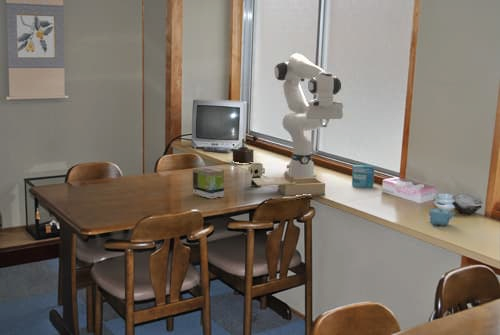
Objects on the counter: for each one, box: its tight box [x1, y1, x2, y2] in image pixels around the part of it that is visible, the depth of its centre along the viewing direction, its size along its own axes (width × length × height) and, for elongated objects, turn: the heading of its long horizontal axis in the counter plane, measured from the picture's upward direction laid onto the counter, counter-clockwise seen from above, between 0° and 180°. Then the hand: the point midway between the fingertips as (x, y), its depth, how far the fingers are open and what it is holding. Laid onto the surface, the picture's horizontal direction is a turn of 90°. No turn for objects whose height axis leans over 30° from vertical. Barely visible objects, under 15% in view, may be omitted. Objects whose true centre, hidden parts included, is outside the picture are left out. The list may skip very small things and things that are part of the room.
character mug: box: [247, 162, 266, 187], centre depth 367 cm, size 11×7×13 cm, turn 58°
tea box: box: [192, 166, 225, 199], centre depth 344 cm, size 15×10×15 cm, turn 41°
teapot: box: [428, 208, 456, 228], centre depth 295 cm, size 12×6×8 cm, turn 60°
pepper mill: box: [232, 135, 259, 163], centre depth 434 cm, size 16×11×18 cm
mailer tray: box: [277, 176, 326, 198], centre depth 353 cm, size 15×22×6 cm
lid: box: [251, 171, 296, 187], centre depth 349 cm, size 15×21×4 cm
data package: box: [351, 164, 375, 189], centre depth 369 cm, size 12×4×12 cm, turn 78°
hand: (324, 127), depth 356 cm, fingers closed
